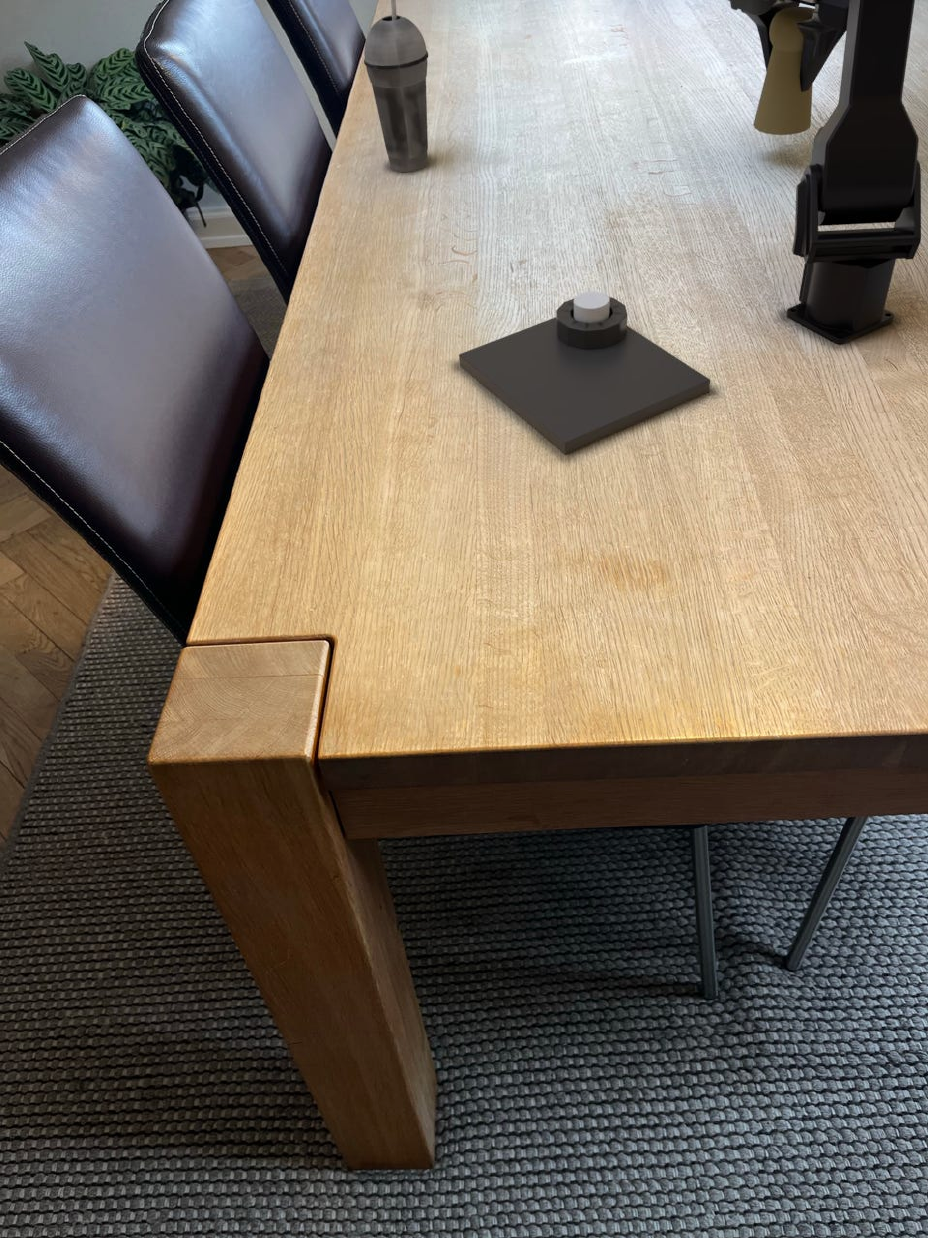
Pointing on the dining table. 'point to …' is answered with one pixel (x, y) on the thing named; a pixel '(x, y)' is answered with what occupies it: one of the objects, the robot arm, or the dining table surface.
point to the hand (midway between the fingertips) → (788, 85)
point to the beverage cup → (399, 88)
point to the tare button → (591, 307)
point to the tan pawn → (785, 78)
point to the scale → (583, 376)
